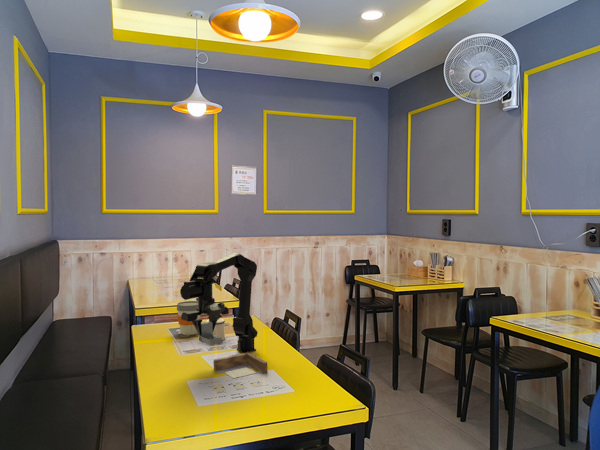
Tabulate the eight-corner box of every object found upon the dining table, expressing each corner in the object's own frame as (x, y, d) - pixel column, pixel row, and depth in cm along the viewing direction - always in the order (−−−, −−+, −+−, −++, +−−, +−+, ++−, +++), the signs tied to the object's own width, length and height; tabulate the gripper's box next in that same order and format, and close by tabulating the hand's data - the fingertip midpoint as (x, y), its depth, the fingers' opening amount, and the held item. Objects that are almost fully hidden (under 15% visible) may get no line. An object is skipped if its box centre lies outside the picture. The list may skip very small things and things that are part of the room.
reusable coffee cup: (199, 335, 229) (198, 305, 229) (174, 336, 229) (173, 305, 229) (204, 329, 242) (204, 300, 241) (180, 329, 242) (180, 300, 241)
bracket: (199, 340, 184) (198, 323, 183) (209, 338, 187) (209, 321, 187) (210, 344, 178) (209, 326, 178) (221, 342, 181) (220, 324, 181)
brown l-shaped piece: (248, 362, 188) (248, 352, 188) (267, 372, 176) (267, 362, 176) (213, 369, 180) (213, 359, 180) (231, 381, 167) (231, 370, 167)
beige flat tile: (246, 367, 182) (246, 367, 182) (256, 373, 176) (256, 372, 176) (224, 372, 176) (224, 372, 176) (233, 378, 170) (233, 378, 170)
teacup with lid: (223, 335, 228) (223, 312, 228) (226, 340, 220) (226, 316, 219) (198, 338, 225) (198, 314, 224) (201, 343, 216) (200, 318, 216)
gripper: (195, 301, 172) (195, 343, 172) (236, 295, 185) (236, 333, 185) (180, 297, 180) (180, 337, 180) (220, 291, 193) (221, 328, 193)
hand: (205, 334), depth 185 cm, fingers closed on bracket, 5 cm apart
